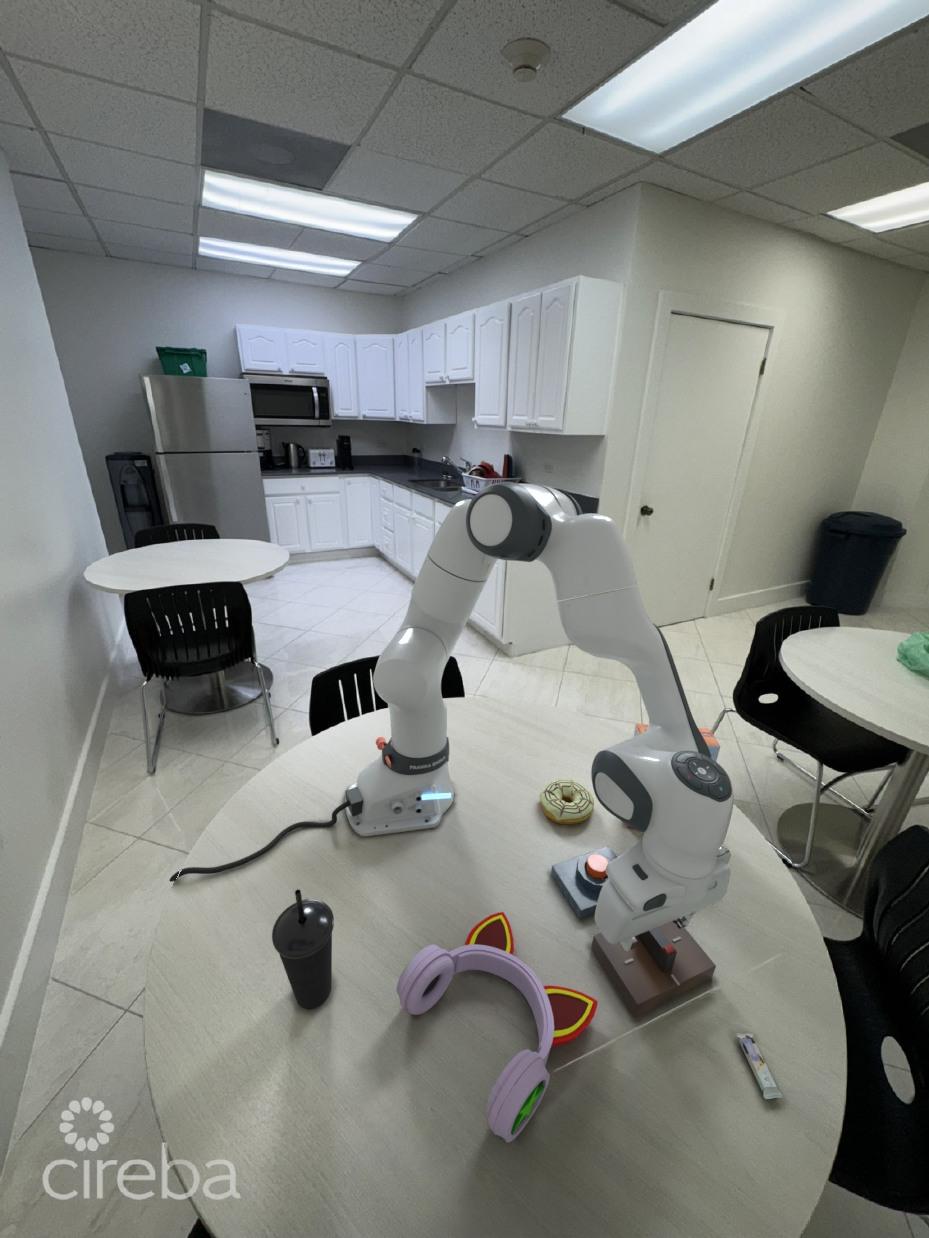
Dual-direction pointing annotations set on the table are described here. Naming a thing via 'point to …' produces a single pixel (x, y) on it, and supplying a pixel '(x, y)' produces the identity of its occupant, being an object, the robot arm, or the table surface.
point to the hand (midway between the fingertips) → (653, 933)
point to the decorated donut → (561, 810)
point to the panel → (653, 969)
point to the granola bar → (759, 1066)
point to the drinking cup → (306, 949)
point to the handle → (659, 948)
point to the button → (597, 866)
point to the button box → (581, 882)
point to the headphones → (552, 1006)
